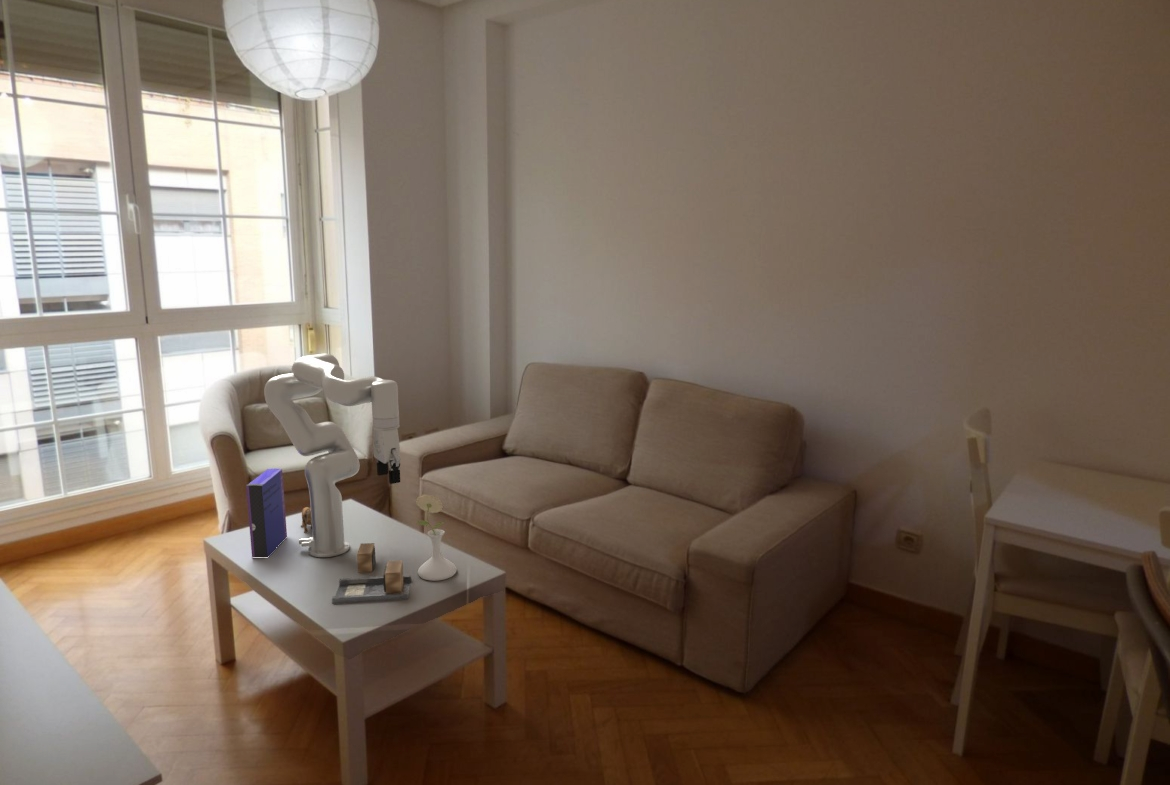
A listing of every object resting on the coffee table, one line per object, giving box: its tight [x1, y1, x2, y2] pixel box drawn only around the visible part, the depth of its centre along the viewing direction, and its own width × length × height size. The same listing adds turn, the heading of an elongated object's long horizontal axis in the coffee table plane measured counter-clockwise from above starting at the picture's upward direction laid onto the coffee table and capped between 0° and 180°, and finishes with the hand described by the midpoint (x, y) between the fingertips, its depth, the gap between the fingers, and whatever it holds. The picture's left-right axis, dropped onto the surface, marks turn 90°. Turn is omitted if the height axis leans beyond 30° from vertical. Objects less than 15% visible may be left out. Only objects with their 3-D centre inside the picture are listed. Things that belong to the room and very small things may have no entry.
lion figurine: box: [300, 506, 312, 534], centre depth 260 cm, size 15×5×9 cm, turn 35°
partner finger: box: [383, 560, 404, 593], centre depth 212 cm, size 5×8×7 cm, turn 8°
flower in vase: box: [415, 494, 457, 582], centre depth 222 cm, size 13×11×25 cm
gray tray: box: [331, 574, 412, 605], centre depth 212 cm, size 20×12×2 cm, turn 98°
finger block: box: [356, 542, 377, 574], centre depth 227 cm, size 4×8×7 cm, turn 8°
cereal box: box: [245, 468, 288, 558], centre depth 242 cm, size 17×5×24 cm, turn 2°
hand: (388, 478), depth 222 cm, fingers open, 9 cm apart
